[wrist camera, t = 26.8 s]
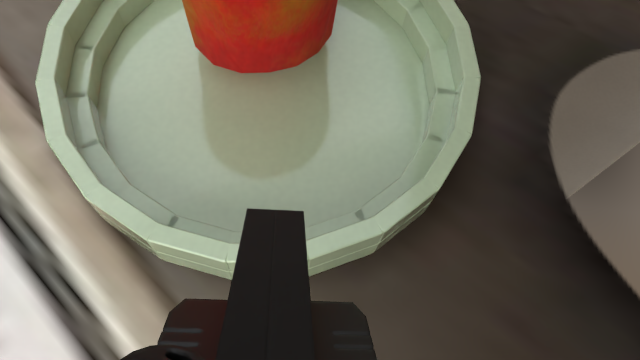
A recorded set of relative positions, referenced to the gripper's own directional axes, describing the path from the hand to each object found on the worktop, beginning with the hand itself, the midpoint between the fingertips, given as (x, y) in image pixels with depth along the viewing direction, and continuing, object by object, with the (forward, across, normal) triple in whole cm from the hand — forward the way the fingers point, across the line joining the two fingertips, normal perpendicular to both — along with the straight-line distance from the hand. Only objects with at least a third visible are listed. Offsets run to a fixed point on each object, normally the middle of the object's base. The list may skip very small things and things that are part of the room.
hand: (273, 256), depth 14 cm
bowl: (+14, -1, +2) cm, 14 cm away
